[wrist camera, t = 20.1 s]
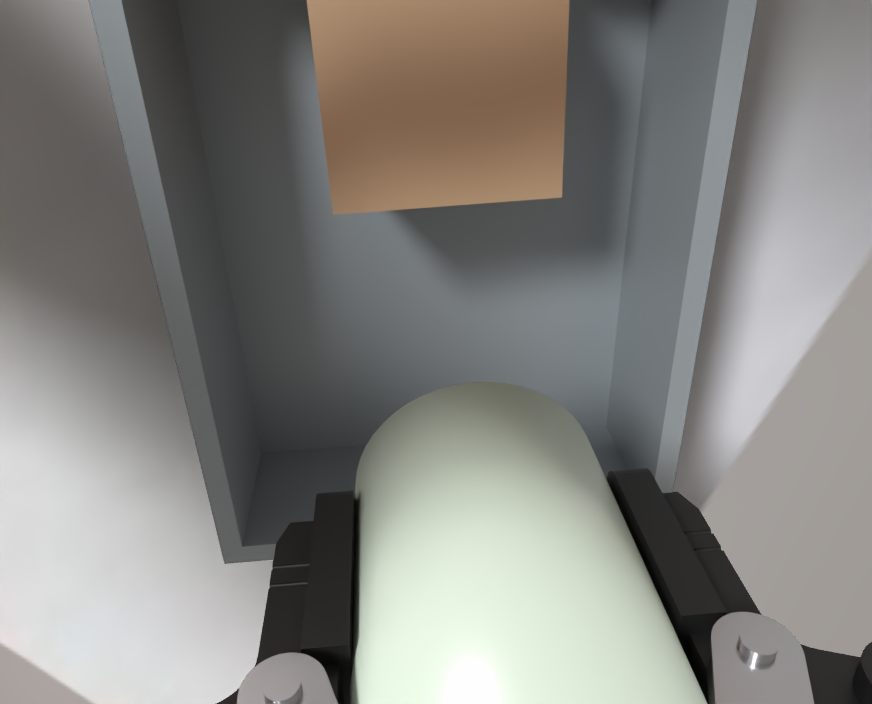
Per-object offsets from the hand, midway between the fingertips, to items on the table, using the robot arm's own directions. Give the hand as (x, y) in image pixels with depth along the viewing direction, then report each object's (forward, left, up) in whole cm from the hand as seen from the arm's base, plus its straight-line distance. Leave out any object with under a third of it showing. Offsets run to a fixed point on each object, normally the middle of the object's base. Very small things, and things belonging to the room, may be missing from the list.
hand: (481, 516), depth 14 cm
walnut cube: (0, +7, -9) cm, 12 cm away
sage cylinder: (0, 0, -1) cm, 1 cm away
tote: (0, +3, -10) cm, 11 cm away
